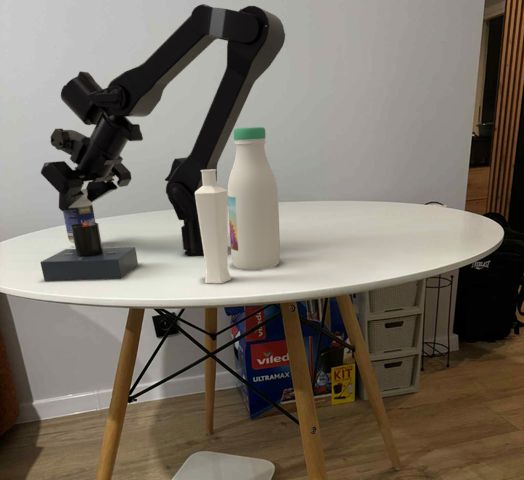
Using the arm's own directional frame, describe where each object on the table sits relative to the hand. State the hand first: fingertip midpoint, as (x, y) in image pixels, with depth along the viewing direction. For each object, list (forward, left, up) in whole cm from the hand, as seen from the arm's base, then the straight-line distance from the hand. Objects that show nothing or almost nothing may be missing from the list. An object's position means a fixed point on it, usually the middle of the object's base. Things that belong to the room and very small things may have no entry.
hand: (72, 207), depth 99 cm
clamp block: (-12, +23, -8) cm, 27 cm away
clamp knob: (-12, +23, -5) cm, 26 cm away
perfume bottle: (-33, +30, -8) cm, 45 cm away
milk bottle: (-38, +21, -8) cm, 44 cm away
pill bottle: (-1, +1, -7) cm, 7 cm away
